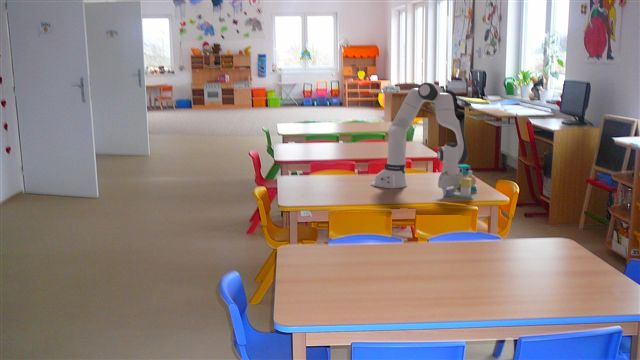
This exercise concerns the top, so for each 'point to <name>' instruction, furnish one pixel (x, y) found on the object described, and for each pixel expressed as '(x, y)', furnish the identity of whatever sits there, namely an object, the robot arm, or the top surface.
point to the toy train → (468, 176)
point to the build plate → (465, 196)
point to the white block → (465, 192)
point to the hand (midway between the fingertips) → (449, 193)
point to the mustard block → (466, 182)
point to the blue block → (449, 192)
